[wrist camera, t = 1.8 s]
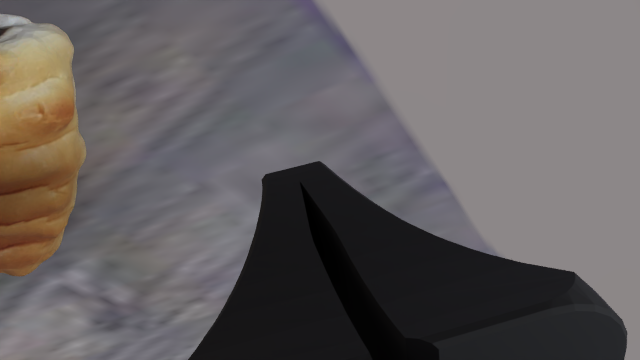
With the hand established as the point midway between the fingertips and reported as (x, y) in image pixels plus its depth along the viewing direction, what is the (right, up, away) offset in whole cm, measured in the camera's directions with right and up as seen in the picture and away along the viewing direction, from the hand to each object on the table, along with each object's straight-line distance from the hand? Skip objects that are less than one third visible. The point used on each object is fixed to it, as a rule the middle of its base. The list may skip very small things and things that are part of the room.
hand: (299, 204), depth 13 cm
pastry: (-11, +3, +7) cm, 13 cm away
